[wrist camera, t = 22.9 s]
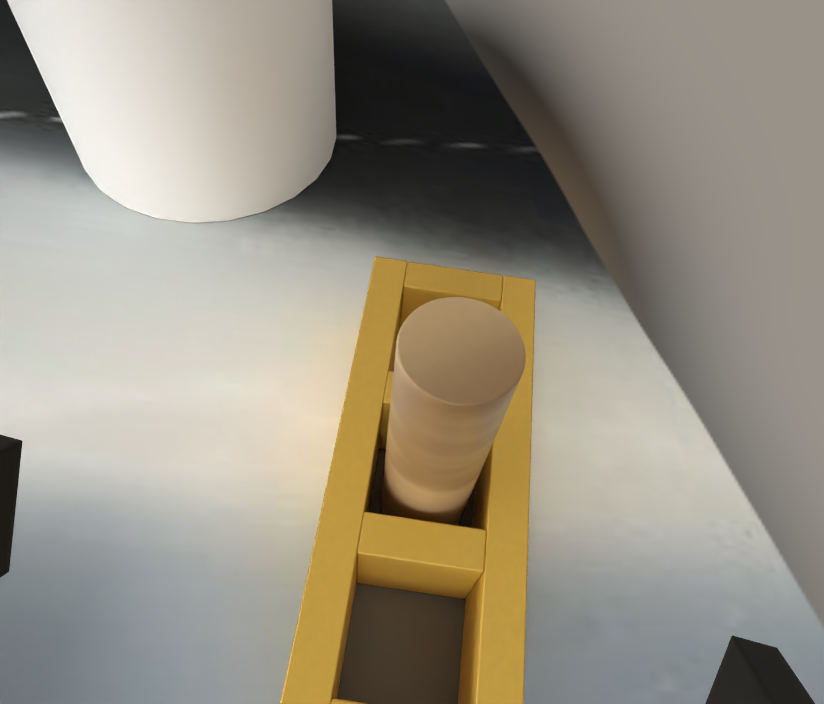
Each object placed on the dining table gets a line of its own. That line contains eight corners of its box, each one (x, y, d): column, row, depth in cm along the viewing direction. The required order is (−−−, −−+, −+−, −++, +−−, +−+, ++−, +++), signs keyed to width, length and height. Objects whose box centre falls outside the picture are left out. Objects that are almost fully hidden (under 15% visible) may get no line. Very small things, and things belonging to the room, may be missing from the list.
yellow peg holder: (284, 749, 25) (270, 747, 21) (372, 313, 37) (375, 255, 33) (494, 782, 25) (521, 786, 21) (515, 334, 37) (536, 279, 33)
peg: (365, 490, 31) (371, 327, 20) (433, 451, 33) (476, 277, 21) (409, 560, 30) (444, 429, 18) (478, 516, 31) (552, 367, 19)
